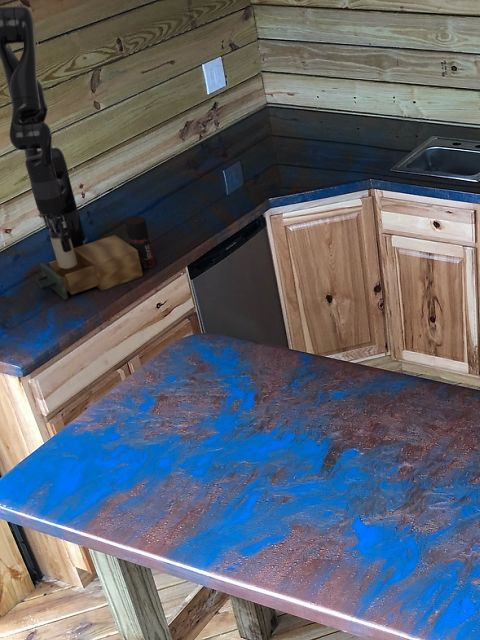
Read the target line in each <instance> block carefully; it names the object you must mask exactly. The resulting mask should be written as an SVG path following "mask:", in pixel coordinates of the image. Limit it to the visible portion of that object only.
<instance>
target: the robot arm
mask: <svg viewBox="0 0 480 640" xmlns="http://www.w3.org/2000/svg"><path fill="white" fill-rule="evenodd" d="M34 21H35V20H34V18H33V15H32V13H31V10H30V9H29V8H28V7H26V6H0V61H1V65H2V68H3V72H4V77H5V80H6V84H7V88H8V93H9V96H10V100H11V105H12V111H11V112H12V113H11V122H10V126H9V140H10V143H11V144H12V146H13V147H14V148H15V149H16V150H18V151H24V155H25V161H24V162H25V163H24V164H25V168H26V171H27V175H28V179H29V182H30V187H31V191H32V195H33V199H34V202H35V205H36V208H37V211H38V212H39V213H41V216H42V219H43V222H44V225H45V227H46V229H47V230H48V231H49V234H51V233H52V232H54V231H55V233H57V234H58V236H59V239H60V241H61V245H62V248H63V251H64V252H68V251H71V246H70V242H69V239H71V242H72V245H73V248H76V247H79V246H82V245H85V244H88V237H86V234H85V232H84V231H85V230H84V228H83V224H82V220H81V217H80V213H79V209H78V205H77V201H76V198H75V195H74V191H73V186H72V183H71V179H70V173H69V169H68V164H67V161H66V158H65V155H64V153H63V151H62V150H61V149H60V148H59V147H52V141H53V139H52V137H53V136H52V130H51V128H50V126H49V125H48V124H47V123H46V122H45V121H46V118H47V115H48V108H49V107H48V104H47V100H46V94H45V91H44V87H43V85H42V84H41V83H40V81H39V79H38V75H37V74H38V73H37V71H38V68H37V64H38V62H37V61H38V59H37V35H36V33H37V32H36V26H35V23H34ZM11 44H13V45H14V44H23V47H22V48H23V49H22V53H21V56H20V59H19V58H18V57H17V56H16V54H15V52H14V51H13V49H12V47H11ZM39 149H40V150H39ZM60 233H61V234H60ZM64 234H65V235H64Z"/></svg>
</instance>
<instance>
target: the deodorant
mask: <svg viewBox="0 0 480 640" xmlns="http://www.w3.org/2000/svg"><path fill="white" fill-rule="evenodd" d="M124 223H125V228H126V232H127V236H128V240H129V241H128V242H129V245H130V246H132V247H133V248H135V249H136V250H137V252H138V256H139V260H140V265H141V269H142V270H148V269H151V268H153V267H155V265H156V262H155V258H154V257H155V256H154V253H153V248H152V245H151V241H150V235H149V231H148V226H147V221H146V219H145V217H144V216H132V217H128V218H127V219H125V221H124Z"/></svg>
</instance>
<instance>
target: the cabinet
mask: <svg viewBox="0 0 480 640" xmlns="http://www.w3.org/2000/svg"><path fill="white" fill-rule="evenodd" d="M73 249H74V252H75V254H76V253H77V254H78V255H80V256H81V257H82V258H84V259H85V260H86V261H88V262H89V263H91V264H92V265H93V266H94V268H95V271H96V275H97V279H98V282H99V285H98V286H95V287H96V288H97V289H99V290H100V291H105V290H108V289H111V288H113V287H116V286H120V285H122V284H125V283H127V282H130V281H133V280H136V279H139V278H141V277H143V276H144V273H143V269H141V265H140V260H139V256H138V252H137V250H136V249H135V248H133V247H132V246H131V245H130V243H128V242H126V241H125V240H123V239H122V238H120V237H118V236H117V235H115V234H114V235H111V236H107V237H104V238H101V239H98V240H95V241H92V242H89V243H87V244H85V245H82V246H79V247H76V248H73Z"/></svg>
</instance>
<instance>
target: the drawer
mask: <svg viewBox="0 0 480 640" xmlns="http://www.w3.org/2000/svg"><path fill="white" fill-rule="evenodd" d="M75 256H76V260H77V262H78V265H77V266H76V267H74V268H71V269H60V268H59V267H58V263H57V259H55V260H53V261H49V262H48V265H49V266H48V265H47V264H46V263H45V262H40V263H38V264H39V268H40V272H41V274H42V277H38V278H37V277H33V278H32V280H31V281H32V283H33V284H34V285H36V286H37V287H38V288H39V289H40V290H42V291H47V290H48V288H50V289H51V290H52V291H53V292H54V293H56V294H57V295H58V296H59V297H61V298H62V299H63V300H68V299H69V295H68V293H69V294H70V295H71V296H72V295H76V294H79V293H81V292H84V291H87V290H89V289H93V288H95V287H96V286H98V285H99V282H98V279H97V275H96V271H95V268H94V266H93V265H92V264H91V263H89V262H88V261H86V260H85V259H84V258H82V257H81V256H80V255H78V254H77V253H76V254H75ZM41 281H44V282H41Z"/></svg>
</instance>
